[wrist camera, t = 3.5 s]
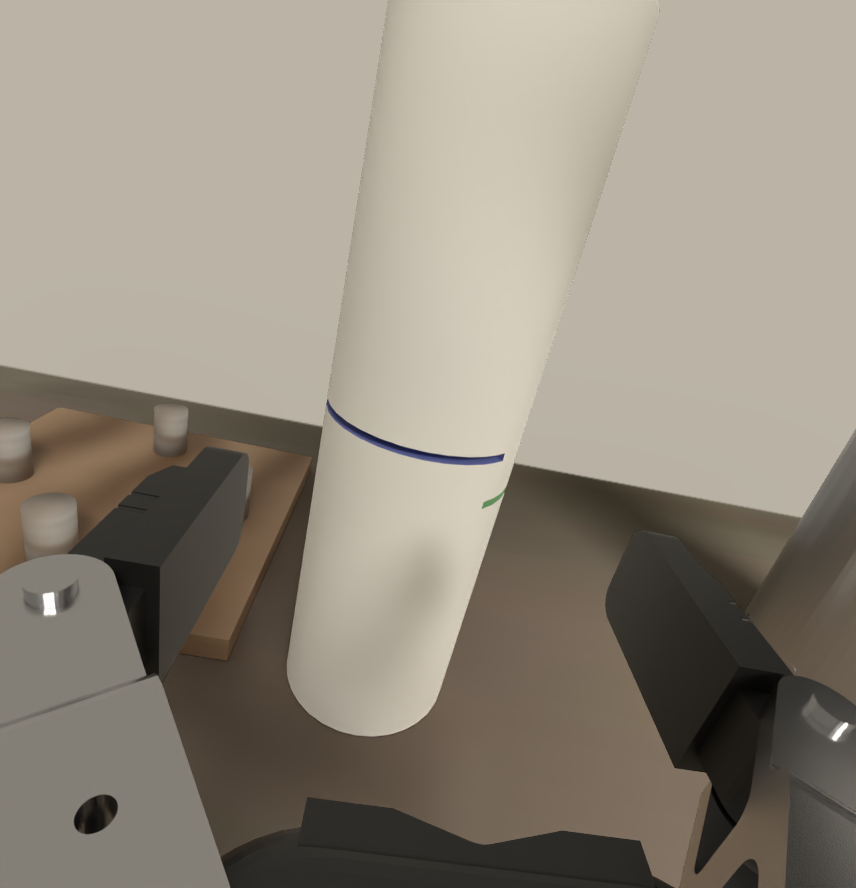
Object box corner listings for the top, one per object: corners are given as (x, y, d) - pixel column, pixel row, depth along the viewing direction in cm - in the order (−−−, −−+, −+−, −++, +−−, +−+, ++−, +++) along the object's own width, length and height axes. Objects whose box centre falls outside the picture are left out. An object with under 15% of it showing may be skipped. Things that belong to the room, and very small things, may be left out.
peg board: (310, 471, 39) (318, 420, 37) (227, 660, 22) (234, 584, 21) (60, 422, 37) (56, 366, 36) (-228, 589, 21) (-260, 500, 19)
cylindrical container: (265, 629, 24) (349, -39, 15) (394, 596, 29) (529, 56, 19) (323, 765, 19) (515, -124, 9) (471, 700, 23) (714, 33, 13)
